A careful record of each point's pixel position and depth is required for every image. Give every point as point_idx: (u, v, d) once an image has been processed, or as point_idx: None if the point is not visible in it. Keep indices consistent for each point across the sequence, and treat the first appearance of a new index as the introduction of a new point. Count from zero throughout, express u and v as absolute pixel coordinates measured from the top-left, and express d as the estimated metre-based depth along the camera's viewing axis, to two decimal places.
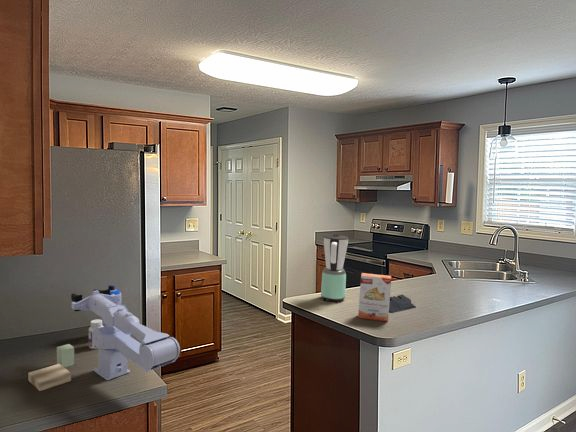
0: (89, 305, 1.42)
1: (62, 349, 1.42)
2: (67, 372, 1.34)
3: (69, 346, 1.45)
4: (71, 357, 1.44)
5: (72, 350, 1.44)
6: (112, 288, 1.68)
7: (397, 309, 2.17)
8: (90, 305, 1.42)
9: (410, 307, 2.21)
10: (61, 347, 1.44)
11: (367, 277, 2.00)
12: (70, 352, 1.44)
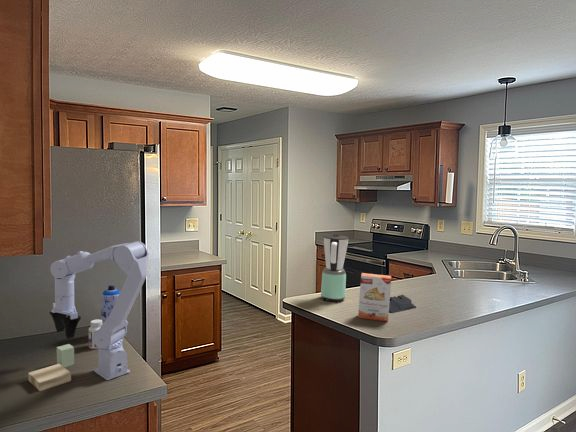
0: (68, 305, 1.41)
1: (62, 349, 1.42)
2: (67, 372, 1.34)
3: (69, 346, 1.45)
4: (71, 357, 1.44)
5: (72, 350, 1.44)
6: (112, 288, 1.68)
7: (397, 309, 2.16)
8: (67, 302, 1.40)
9: (410, 307, 2.21)
10: (61, 347, 1.44)
11: (367, 277, 2.00)
12: (70, 352, 1.44)
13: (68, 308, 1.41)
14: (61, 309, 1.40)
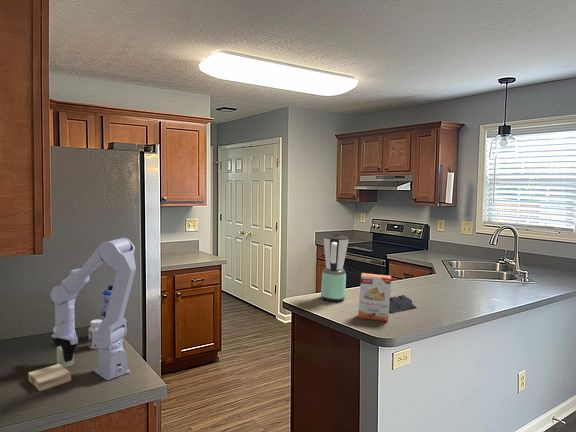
0: (68, 330, 1.42)
1: None
2: (67, 372, 1.34)
3: None
4: None
5: None
6: (112, 288, 1.68)
7: (397, 309, 2.16)
8: (68, 327, 1.41)
9: (411, 308, 2.20)
10: None
11: (367, 277, 2.00)
12: None
13: (68, 333, 1.42)
14: (61, 334, 1.41)
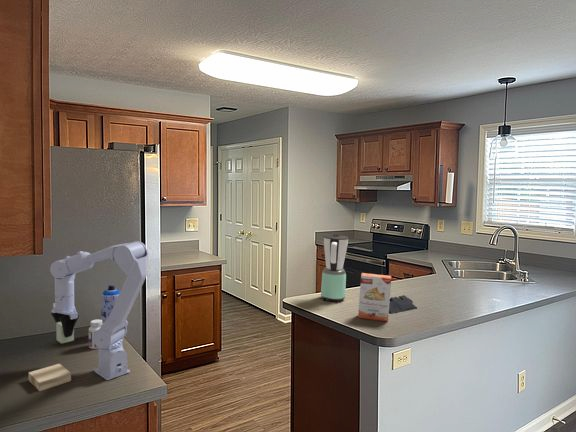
0: (68, 305, 1.41)
1: None
2: (67, 372, 1.34)
3: None
4: None
5: None
6: (112, 288, 1.68)
7: (397, 310, 2.15)
8: (67, 302, 1.40)
9: (411, 308, 2.20)
10: (61, 323, 1.43)
11: (367, 277, 2.00)
12: None
13: (68, 308, 1.41)
14: (61, 309, 1.40)
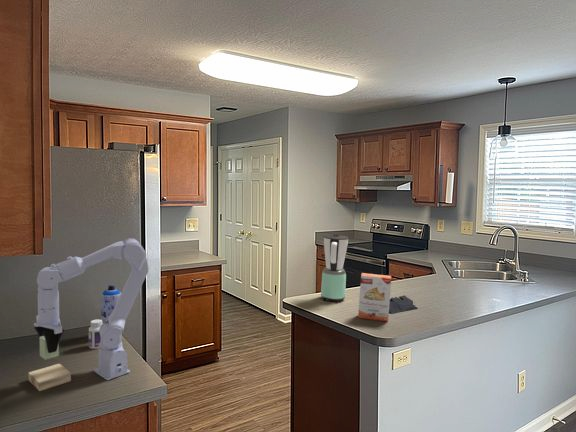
0: (52, 318, 1.30)
1: None
2: (67, 372, 1.34)
3: None
4: None
5: None
6: (112, 288, 1.68)
7: (398, 310, 2.15)
8: (51, 315, 1.29)
9: (411, 308, 2.19)
10: (44, 337, 1.32)
11: (367, 277, 2.00)
12: None
13: (52, 321, 1.30)
14: (44, 323, 1.29)
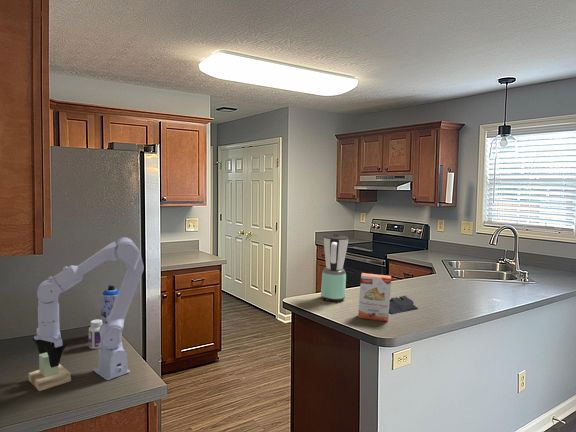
0: (52, 331, 1.30)
1: (45, 357, 1.30)
2: (67, 372, 1.34)
3: None
4: None
5: None
6: (112, 288, 1.68)
7: (398, 310, 2.15)
8: (51, 328, 1.30)
9: (412, 308, 2.19)
10: (44, 354, 1.32)
11: (367, 277, 2.00)
12: None
13: (52, 334, 1.30)
14: (45, 336, 1.29)
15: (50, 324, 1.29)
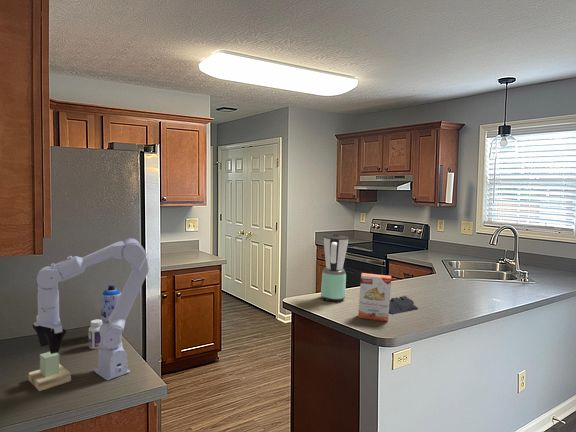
0: (52, 318, 1.30)
1: (46, 357, 1.31)
2: (67, 372, 1.34)
3: (54, 353, 1.33)
4: (56, 365, 1.33)
5: (57, 357, 1.33)
6: (112, 288, 1.68)
7: (398, 310, 2.14)
8: (51, 315, 1.29)
9: (412, 309, 2.19)
10: (45, 354, 1.32)
11: (367, 277, 2.00)
12: (55, 359, 1.32)
13: (52, 321, 1.30)
14: (44, 322, 1.29)
15: (50, 310, 1.29)
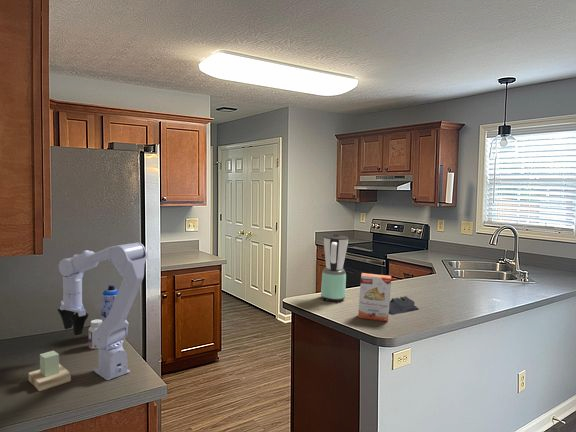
0: (76, 303, 1.44)
1: (46, 357, 1.31)
2: (67, 372, 1.34)
3: (53, 353, 1.33)
4: (56, 365, 1.33)
5: (57, 357, 1.33)
6: (112, 288, 1.68)
7: (398, 311, 2.14)
8: (75, 300, 1.43)
9: (412, 309, 2.18)
10: (45, 354, 1.32)
11: (367, 277, 2.00)
12: (55, 359, 1.32)
13: (76, 305, 1.44)
14: (69, 306, 1.43)
15: (74, 296, 1.43)
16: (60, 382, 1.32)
